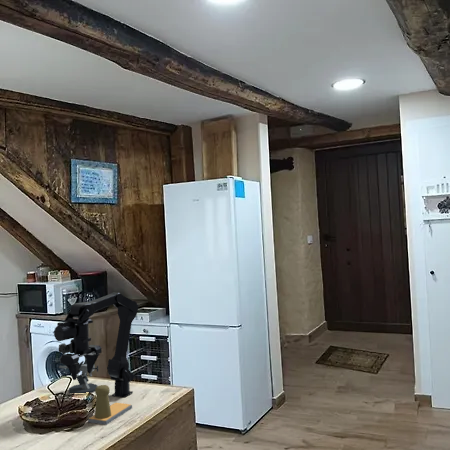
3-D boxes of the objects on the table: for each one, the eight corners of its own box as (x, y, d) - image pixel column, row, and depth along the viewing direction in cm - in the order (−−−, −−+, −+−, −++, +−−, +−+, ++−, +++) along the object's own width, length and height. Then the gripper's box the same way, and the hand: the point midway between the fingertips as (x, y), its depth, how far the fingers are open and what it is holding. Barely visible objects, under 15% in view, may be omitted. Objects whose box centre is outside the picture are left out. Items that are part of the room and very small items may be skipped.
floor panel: (114, 405, 203) (114, 402, 203) (132, 408, 200) (132, 404, 200) (88, 421, 187) (88, 418, 187) (106, 424, 184) (106, 420, 184)
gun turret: (66, 383, 234) (66, 355, 234) (105, 386, 228) (104, 357, 227) (49, 392, 222) (48, 362, 222) (89, 396, 216) (88, 365, 215)
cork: (93, 414, 191) (92, 384, 191) (109, 411, 193) (108, 382, 193) (96, 420, 185) (95, 389, 185) (112, 417, 188) (112, 386, 187)
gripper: (78, 330, 211) (79, 368, 211) (47, 340, 194) (48, 381, 194) (101, 331, 207) (102, 370, 207) (72, 342, 190) (73, 384, 190)
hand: (81, 376), depth 199 cm, fingers open, 9 cm apart
